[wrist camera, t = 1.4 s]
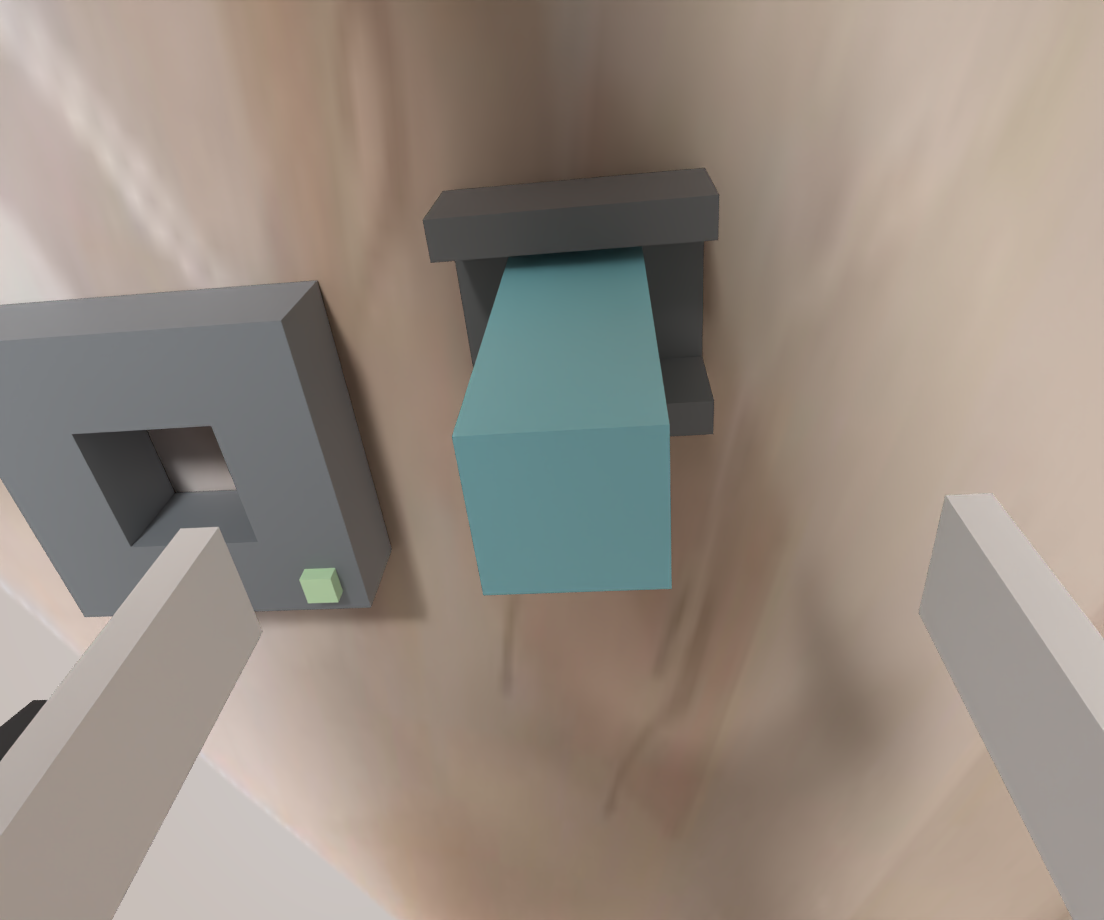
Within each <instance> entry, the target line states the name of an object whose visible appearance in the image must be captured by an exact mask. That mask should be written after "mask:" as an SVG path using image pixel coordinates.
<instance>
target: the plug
mask: <svg viewBox="0 0 1104 920" xmlns="http://www.w3.org/2000/svg"><path fill="white" fill-rule="evenodd" d="M452 440H453V445H454V450H455V455H456V460H457V465H458V470H459V475H460V480H461V485H462V490H463V495H464V500H465V505H466V510H467V515H468V520H469V525H470V530H471V535H472V540H473V545H474V550H475V555H476V560H477V566H478V571H479V576H480V581H481V586H482V591H483V595H507V594H536V593H564V592H593V591H622V590H651V589H672V580H671V498H670V424H669V417H668V411H667V404H666V398H665V392H664V385H663V379H662V372H661V366H660V359H659V353H658V346H657V340H656V333H655V327H654V321H653V314H652V308H651V301H650V295H649V288H648V282H647V275H646V269H645V262H644V256H643V249H642V246H636V247H624V248H611V249H598V250H586V251H573V252H560V253H548V254H535V255H522V256H510V257H508V260H507V263H506V267H505V270H504V273H503V276H502V279H501V282H500V286H499V289H498V292H497V295H496V298H495V301H494V305H493V308H492V311H491V314H490V317H489V320H488V324H487V327H486V330H485V333H484V336H483V339H482V343H481V346H480V349H479V352H478V355H477V358H476V362H475V365H474V368H473V371H472V374H471V378H470V381H469V384H468V387H467V390H466V393H465V397H464V400H463V403H462V406H461V409H460V412H459V416H458V419H457V422H456V425H455V428H454V431H453V435H452Z"/></svg>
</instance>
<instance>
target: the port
mask: <svg viewBox="0 0 1104 920" xmlns="http://www.w3.org/2000/svg"><path fill="white" fill-rule="evenodd" d="M202 426H211V427H212V429H213V432H214V434H215V437H216V439H217V442H218V444H219V447H220V449H221V452H222V454H223V457H224V459H225V462H226V464H227V467H228V469H229V472H230V474H231V477H232V479H233V482H234V484H235V487H236V489H237V490H223V491H203V492H183V493H175V492H174V490H173V487H172V485H171V483H170V481H169V479H168V477H167V474H166V472H165V470H164V468H163V466H162V463H161V461H160V459H159V457H158V455H157V453H156V450H155V448H154V446H153V444H152V442H151V439H150V437H149V435H148V433H147V431H146V430H151V429H168V428H185V427H202ZM0 478H1V480H2V482H3V483H4V485H5V487H6V488H7V490H8V491H9V493H10V495H11V496H12V498H13V500H14V501H15V503H16V505H17V506H18V508H19V510H20V511H21V513H22V514H23V516H24V518H25V519H26V521H27V523H28V524H29V526H30V528H31V529H32V531H33V533H34V534H35V536H36V538H37V539H38V541H39V542H40V544H41V546H42V547H43V549H44V551H45V552H46V554H47V556H48V557H49V559H50V561H51V562H52V564H53V566H54V567H55V569H56V570H57V572H58V574H59V575H60V577H61V579H62V580H63V582H64V584H65V585H66V587H67V589H68V590H69V592H70V593H71V595H72V597H73V598H74V600H75V602H76V603H77V605H78V607H79V608H80V610H81V612H82V613H83V615H84V617H102V616H113V615H114V614H115V612H116V611H117V610H118V609H119V607H120V606H121V605H122V603H123V602H124V601H125V600H126V598H127V597H128V596H129V594H130V593H131V592H132V590H133V589H134V588H135V587H136V585H137V584H138V583H139V581H140V580H141V579H142V578H143V576H144V575H145V574H146V572H147V571H148V570H149V569H150V567H151V566H152V565H153V563H154V562H155V561H156V559H157V558H158V557H159V556H160V554H161V553H162V552H163V550H164V549H165V548H166V547H167V545H168V544H169V543H170V541H171V540H172V539H173V537H174V536H175V535H176V534H177V532H178V531H179V530H180V529H181V528H204V527H219V529H220V531H221V533H222V536H223V538H224V541H225V543H226V545H227V548H228V550H229V552H230V555H231V557H232V560H233V562H234V564H235V567H236V569H237V572H238V574H239V576H240V579H241V581H242V583H243V586H244V588H245V591H246V593H247V595H248V598H249V600H250V602H251V605H252V607H253V610H254V611H281V610H311V609H341V608H371V606H372V603H373V601H374V598H375V595H376V592H377V589H378V587H379V584H380V581H381V578H382V575H383V573H384V570H385V567H386V564H387V561H388V559H389V556H390V553H391V550H392V548H391V545H390V541H389V538H388V534H387V530H386V527H385V523H384V520H383V516H382V512H381V509H380V505H379V502H378V498H377V494H376V491H375V487H374V483H373V480H372V476H371V473H370V469H369V465H368V462H367V458H366V455H365V451H364V447H363V444H362V440H361V437H360V433H359V429H358V426H357V422H356V419H355V415H354V411H353V408H352V404H351V401H350V397H349V393H348V390H347V386H346V383H345V379H344V375H343V372H342V368H341V365H340V361H339V357H338V354H337V350H336V346H335V343H334V339H333V336H332V332H331V328H330V325H329V321H328V318H327V314H326V310H325V307H324V303H323V300H322V296H321V292H320V289H319V285H318V282H317V280H316V281H303V282H290V283H277V284H264V285H251V286H239V287H226V288H213V289H200V290H187V291H174V292H162V293H149V294H136V295H123V296H110V297H97V298H85V299H72V300H59V301H46V302H33V303H20V304H8V305H0Z"/></svg>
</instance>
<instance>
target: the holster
mask: <svg viewBox="0 0 1104 920" xmlns="http://www.w3.org/2000/svg"><path fill="white" fill-rule="evenodd" d="M718 220H719V194H718V192H717V190H716V188H715V186H714V184H713V182H712V180H711V179H710V177H709V175H708V173H707V171H706V169H705V168H697V169H686V170H675V171H663V172H652V173H641V174H629V175H618V176H607V177H595V178H584V179H573V180H562V181H550V182H539V183H528V184H516V185H505V186H494V187H482V188H471V189H460V190H448V191H443V192H442V193H441V195H440V196H439V198H438V199H437V200H436V202H435V203H434V205H433V206H432V207H431V209H430V210H429V212H428V213H427V215H426V216H425V217H424V219H423V224H424V229H425V235H426V240H427V245H428V250H429V256H430V261H431V263H434V262H446V261H455V263H456V269H457V275H458V281H459V287H460V293H461V299H462V304H463V310H464V316H465V322H466V328H467V334H468V340H469V346H470V351H471V357H472V363H473V368H474V365H475V362H476V358H477V355H478V352H479V349H480V346H481V343H482V339H483V336H484V333H485V330H486V327H487V324H488V320H489V317H490V314H491V311H492V308H493V305H494V301H495V298H496V295H497V292H498V289H499V286H500V282H501V279H502V276H503V273H504V270H505V267H506V263H507V260H508V257H510V256H522V255H535V254H548V253H560V252H573V251H586V250H598V249H611V248H624V247H636V246H642V249H643V256H644V262H645V269H646V275H647V282H648V288H649V295H650V301H651V308H652V314H653V321H654V327H655V333H656V340H657V346H658V353H659V359H660V366H661V372H662V379H663V385H664V392H665V398H666V404H667V411H668V417H669V424H670V436H687V435H706V434H713V421H714V399H713V395H712V392H711V388H710V384H709V380H708V377H707V373H706V369H705V365H704V362H703V358H702V326H703V256H704V241H712V240H718Z"/></svg>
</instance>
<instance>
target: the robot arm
mask: <svg viewBox="0 0 1104 920" xmlns="http://www.w3.org/2000/svg"><path fill="white" fill-rule="evenodd" d="M919 615H920V617H921V619H922V621H923V623H924V625H925V627H926V629H927V631H928V633H929V635H930V637H931V639H932V641H933V643H934V645H935V647H936V649H937V651H938V653H939V655H940V657H941V659H942V660H943V662H944V664H945V666H946V668H947V670H948V672H949V674H950V676H951V678H952V680H953V682H954V684H955V686H956V688H957V690H958V692H959V694H960V696H961V698H962V700H963V702H964V704H965V706H966V708H967V710H968V712H969V714H970V716H971V718H972V720H973V722H974V724H975V726H976V728H977V730H978V732H979V734H980V736H981V738H982V740H983V742H984V744H985V746H986V748H987V750H988V752H989V754H990V756H991V758H992V760H993V762H994V764H995V766H996V768H997V770H998V772H999V774H1000V776H1001V778H1002V780H1003V782H1004V784H1005V786H1006V788H1007V790H1008V792H1009V794H1010V796H1011V798H1012V800H1013V802H1014V804H1015V806H1016V808H1017V810H1018V812H1019V814H1020V816H1021V818H1022V820H1023V822H1024V824H1025V826H1026V827H1027V829H1028V831H1029V833H1030V835H1031V837H1032V839H1033V841H1034V843H1035V845H1036V847H1037V849H1038V851H1039V853H1040V855H1041V857H1042V859H1043V861H1044V863H1045V865H1046V867H1047V869H1048V871H1049V873H1050V875H1051V877H1052V879H1053V881H1054V883H1055V885H1056V887H1057V889H1058V891H1059V893H1060V895H1061V897H1062V899H1063V901H1064V903H1065V905H1066V907H1067V909H1068V911H1069V913H1070V915H1071V917H1072V919H1073V920H1104V638H1103V637H1102V636H1101V634H1100V633H1099V632H1098V631H1097V629H1096V628H1095V627H1094V625H1093V624H1092V623H1091V621H1090V620H1089V619H1088V617H1087V616H1086V615H1085V614H1084V612H1083V611H1082V610H1081V608H1080V607H1079V606H1078V604H1077V603H1076V602H1075V601H1074V599H1073V598H1072V597H1071V595H1070V594H1069V593H1068V591H1067V590H1066V589H1065V587H1064V586H1063V585H1062V584H1061V582H1060V581H1059V580H1058V578H1057V577H1056V576H1055V574H1054V573H1053V572H1052V570H1051V569H1050V568H1049V567H1048V565H1047V564H1046V563H1045V561H1044V560H1043V559H1042V557H1041V556H1040V555H1039V554H1038V552H1037V551H1036V550H1035V548H1034V547H1033V546H1032V544H1031V543H1030V542H1029V540H1028V539H1027V538H1026V537H1025V535H1024V534H1023V533H1022V531H1021V530H1020V529H1019V527H1018V526H1017V525H1016V523H1015V522H1014V521H1013V520H1012V518H1011V517H1010V516H1009V514H1008V513H1007V512H1006V510H1005V509H1004V508H1003V507H1002V505H1001V504H1000V503H999V501H998V500H997V499H996V497H995V496H994V495H993V493H983V494H960V495H945V498H944V503H943V507H942V512H941V516H940V520H939V525H938V529H937V534H936V538H935V543H934V547H933V551H932V556H931V560H930V565H929V569H928V573H927V578H926V582H925V587H924V591H923V595H922V600H921V604H920V609H919ZM262 632H263V631H262V629H261V626H260V624H259V621H258V619H257V617H256V614H255V612H254V610H253V607H252V605H251V602H250V600H249V598H248V595H247V593H246V591H245V588H244V586H243V583H242V581H241V579H240V576H239V574H238V572H237V569H236V567H235V564H234V562H233V560H232V557H231V555H230V552H229V550H228V548H227V545H226V543H225V541H224V538H223V536H222V533H221V531H220V529H219V527H204V528H181V529H180V530H179V531H178V532H177V534H176V535H175V536H174V537H173V539H172V540H171V541H170V543H169V544H168V545H167V547H166V548H165V549H164V550H163V552H162V553H161V554H160V556H159V557H158V558H157V559H156V561H155V562H154V563H153V565H152V566H151V567H150V569H149V570H148V571H147V572H146V574H145V575H144V576H143V578H142V579H141V580H140V581H139V583H138V584H137V585H136V587H135V588H134V589H133V590H132V592H131V593H130V594H129V596H128V597H127V598H126V600H125V601H124V602H123V603H122V605H121V606H120V607H119V609H118V610H117V611H116V612H115V614H114V615H113V616H112V618H111V619H110V620H109V621H108V623H107V624H106V625H105V627H104V628H103V629H102V631H101V632H100V633H99V634H98V636H97V637H96V638H95V640H94V641H93V642H92V643H91V645H90V646H89V647H88V649H87V650H86V651H85V652H84V654H83V655H82V656H81V658H80V659H79V660H78V662H77V663H76V664H75V665H74V667H73V668H72V670H71V671H70V672H69V673H68V674H67V676H66V677H65V679H64V680H63V681H62V682H61V684H60V685H59V686H58V687H57V689H56V690H55V691H54V693H53V694H52V695H51V697H50V698H49V699H48V700H33V701H32V702H30V703H29V704H28V705H27V706H26V707H25V708H23V709H22V710H21V711H19V712H18V713H17V714H16V715H14V716H13V717H12V718H11V719H10V720H8V721H7V722H6V723H5V724H3V725H2V726H1V727H0V920H112V919H113V917H114V915H115V913H116V911H117V909H118V907H119V905H120V903H121V902H122V900H123V898H124V896H125V894H126V892H127V890H128V888H129V886H130V884H131V882H132V881H133V879H134V877H135V875H136V873H137V871H138V869H139V867H140V865H141V863H142V861H143V860H144V858H145V856H146V854H147V852H148V850H149V848H150V846H151V844H152V842H153V840H154V839H155V837H156V835H157V832H158V830H159V829H160V827H161V825H162V823H163V821H164V819H165V817H166V816H167V814H168V812H169V810H170V808H171V806H172V804H173V802H174V800H175V798H176V797H177V795H178V793H179V791H180V789H181V787H182V785H183V783H184V781H185V779H186V777H187V775H188V774H189V772H190V770H191V768H192V766H193V764H194V762H195V760H196V758H197V756H198V755H199V753H200V751H201V749H202V747H203V745H204V743H205V741H206V739H207V737H208V735H209V734H210V732H211V730H212V728H213V726H214V724H215V722H216V720H217V718H218V716H219V714H220V712H221V711H222V709H223V707H224V705H225V703H226V701H227V699H228V697H229V695H230V693H231V691H232V690H233V688H234V686H235V684H236V682H237V680H238V678H239V676H240V674H241V672H242V670H243V669H244V667H245V665H246V663H247V661H248V659H249V657H250V655H251V653H252V651H253V649H254V648H255V646H256V644H257V642H258V640H259V638H260V636H261V634H262Z"/></svg>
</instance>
